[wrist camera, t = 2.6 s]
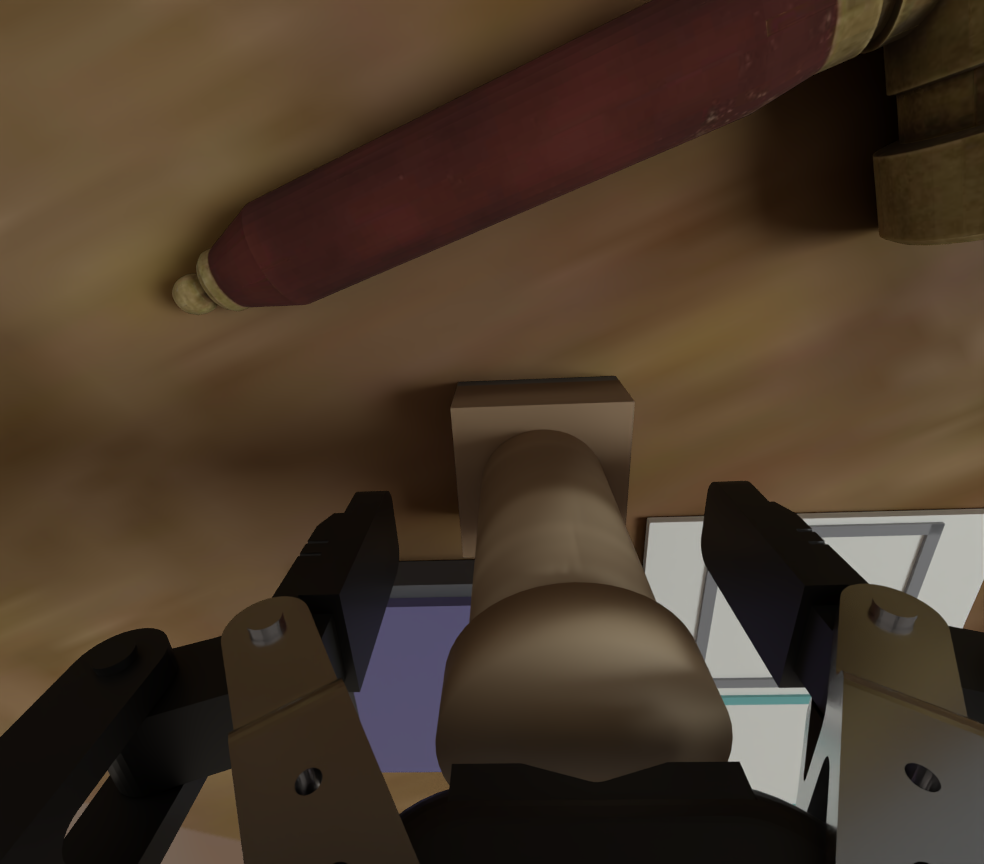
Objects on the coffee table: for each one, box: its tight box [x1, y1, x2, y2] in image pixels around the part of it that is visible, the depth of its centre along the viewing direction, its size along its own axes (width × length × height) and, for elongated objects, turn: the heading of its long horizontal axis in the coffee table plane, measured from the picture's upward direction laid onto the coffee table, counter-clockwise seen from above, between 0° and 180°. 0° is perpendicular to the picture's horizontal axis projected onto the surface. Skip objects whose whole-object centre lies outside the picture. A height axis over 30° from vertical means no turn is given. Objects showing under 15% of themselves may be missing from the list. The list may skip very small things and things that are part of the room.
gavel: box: [172, 0, 984, 315], centre depth 10 cm, size 21×5×10 cm
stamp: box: [435, 376, 733, 785], centre depth 10 cm, size 4×4×9 cm
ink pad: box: [348, 560, 475, 772], centre depth 17 cm, size 9×9×2 cm
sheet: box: [643, 509, 984, 806], centre depth 18 cm, size 15×11×1 cm
